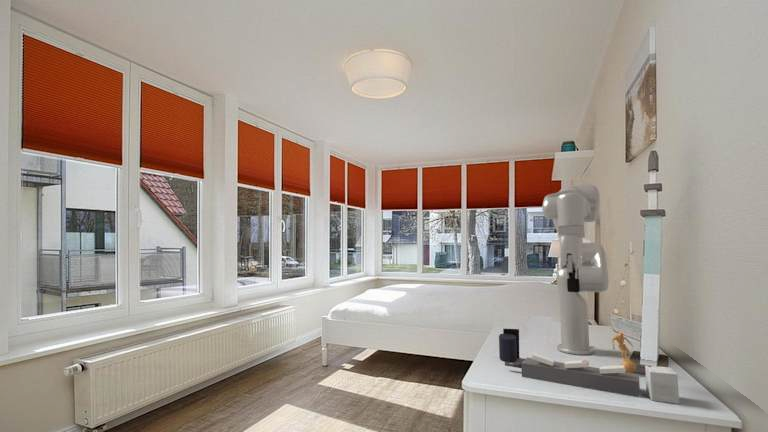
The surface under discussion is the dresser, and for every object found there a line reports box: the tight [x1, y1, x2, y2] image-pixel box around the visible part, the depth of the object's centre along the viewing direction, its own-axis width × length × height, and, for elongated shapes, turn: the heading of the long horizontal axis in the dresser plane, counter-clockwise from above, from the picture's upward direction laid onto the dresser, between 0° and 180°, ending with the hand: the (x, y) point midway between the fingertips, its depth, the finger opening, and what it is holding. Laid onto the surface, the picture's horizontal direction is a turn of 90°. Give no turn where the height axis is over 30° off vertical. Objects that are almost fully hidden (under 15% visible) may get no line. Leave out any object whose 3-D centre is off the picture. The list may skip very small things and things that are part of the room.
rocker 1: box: [531, 352, 556, 366], centre depth 119 cm, size 3×6×1 cm, turn 56°
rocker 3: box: [599, 364, 626, 374], centre depth 109 cm, size 3×6×1 cm, turn 56°
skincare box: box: [644, 365, 680, 404], centre depth 103 cm, size 6×6×7 cm
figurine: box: [611, 332, 637, 373], centre depth 124 cm, size 8×6×12 cm
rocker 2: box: [563, 359, 590, 368], centre depth 114 cm, size 3×6×1 cm, turn 56°
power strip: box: [504, 357, 641, 398], centre depth 117 cm, size 7×36×4 cm, turn 56°
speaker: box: [498, 328, 520, 363], centre depth 138 cm, size 8×6×10 cm
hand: (573, 291), depth 122 cm, fingers closed
